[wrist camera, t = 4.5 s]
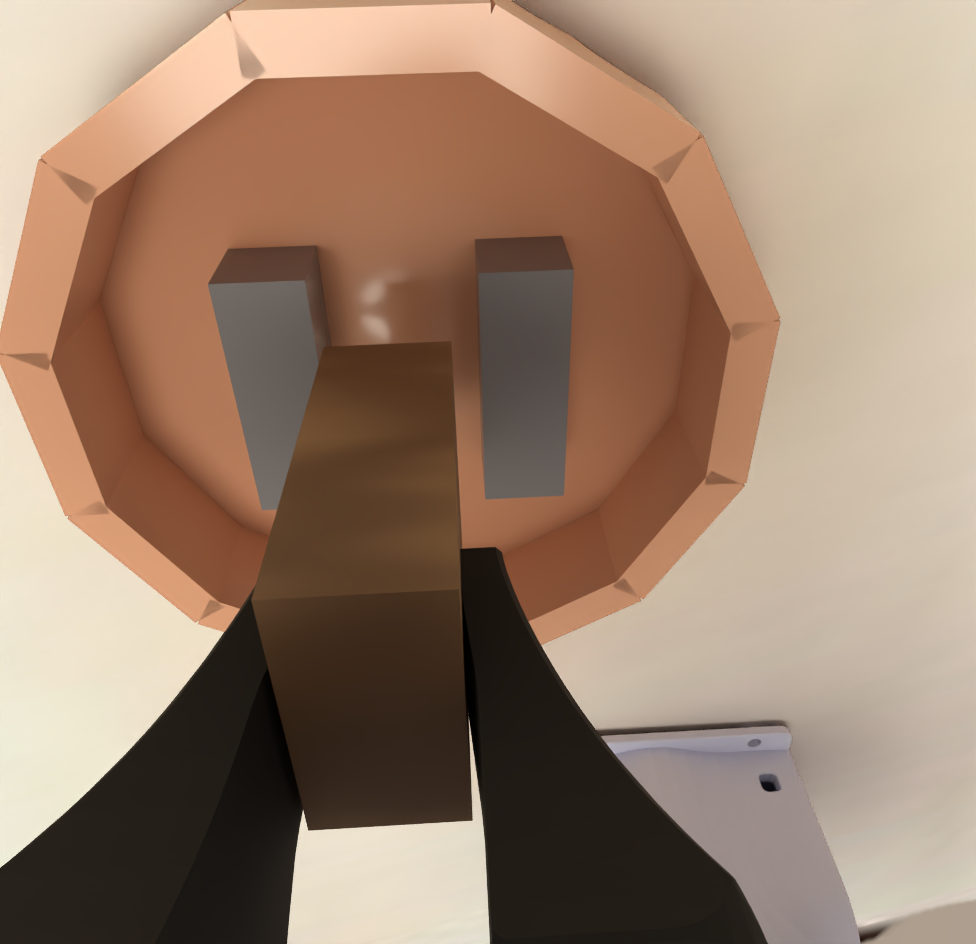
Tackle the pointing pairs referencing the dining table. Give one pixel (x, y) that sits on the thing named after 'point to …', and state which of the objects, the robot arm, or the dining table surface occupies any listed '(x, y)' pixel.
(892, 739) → the dining table surface
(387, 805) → the brown rectangular block
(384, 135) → the faceted copper bowl
